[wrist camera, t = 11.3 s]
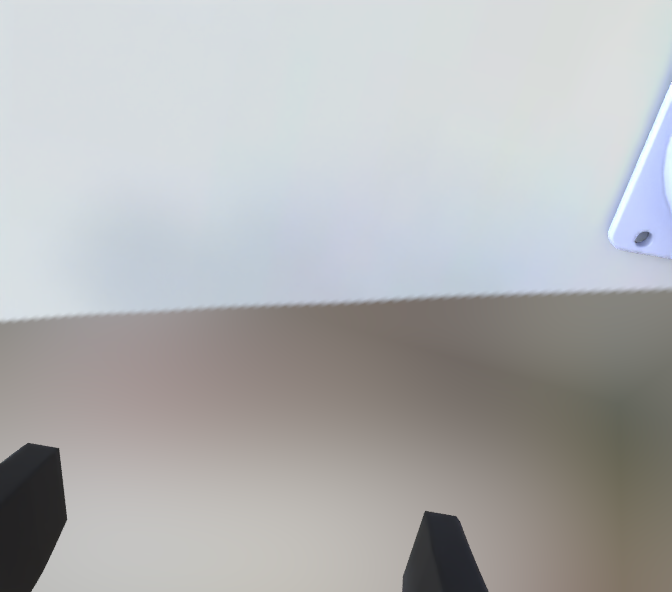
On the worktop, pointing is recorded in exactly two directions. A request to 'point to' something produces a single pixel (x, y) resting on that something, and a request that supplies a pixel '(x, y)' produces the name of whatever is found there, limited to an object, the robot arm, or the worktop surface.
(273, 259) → the worktop surface
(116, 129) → the worktop surface
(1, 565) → the robot arm
